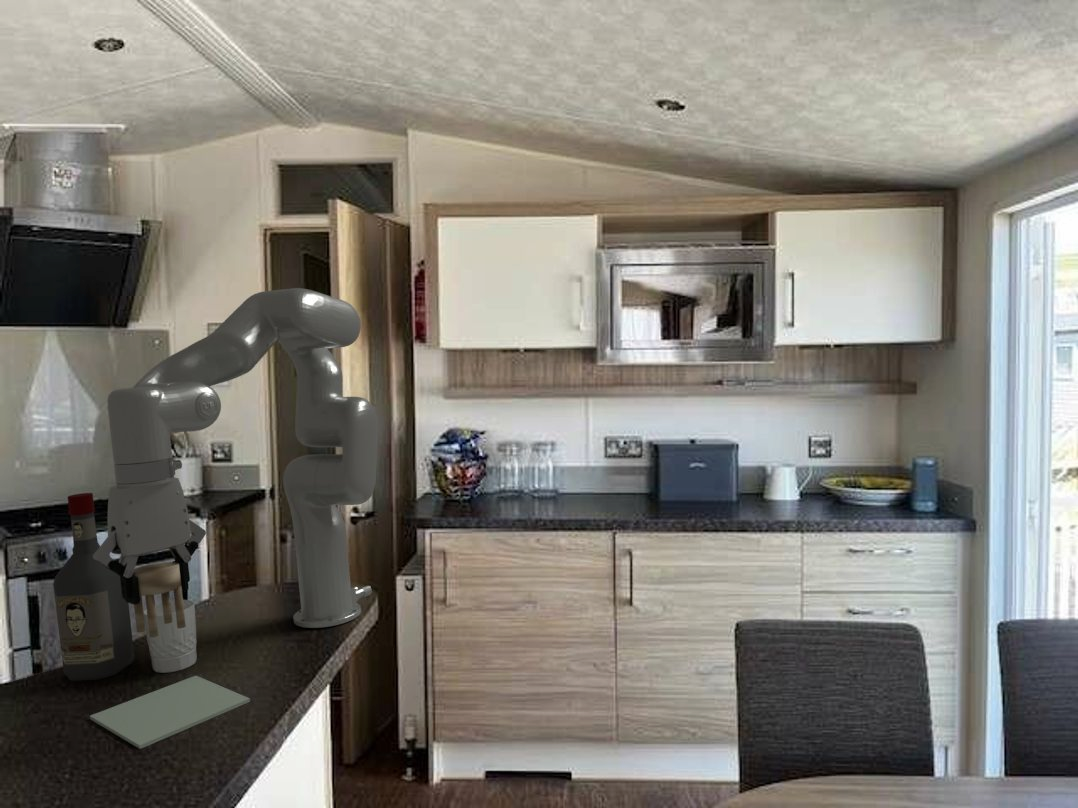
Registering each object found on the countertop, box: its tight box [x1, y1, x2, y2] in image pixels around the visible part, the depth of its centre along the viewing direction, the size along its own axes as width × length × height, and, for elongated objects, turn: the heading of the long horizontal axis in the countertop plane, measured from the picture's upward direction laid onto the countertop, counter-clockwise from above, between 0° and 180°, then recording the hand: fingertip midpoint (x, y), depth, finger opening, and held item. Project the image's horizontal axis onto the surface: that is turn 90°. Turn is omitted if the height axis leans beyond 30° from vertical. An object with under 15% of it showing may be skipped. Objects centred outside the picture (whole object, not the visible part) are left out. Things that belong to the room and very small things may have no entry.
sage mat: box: [89, 675, 251, 750], centre depth 116 cm, size 16×16×1 cm
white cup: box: [143, 599, 198, 674], centre depth 134 cm, size 8×8×10 cm
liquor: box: [52, 492, 135, 682], centre depth 133 cm, size 9×9×30 cm
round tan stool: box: [133, 561, 186, 637], centre depth 115 cm, size 6×6×9 cm
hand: (157, 594), depth 115 cm, fingers closed on round tan stool, 6 cm apart
